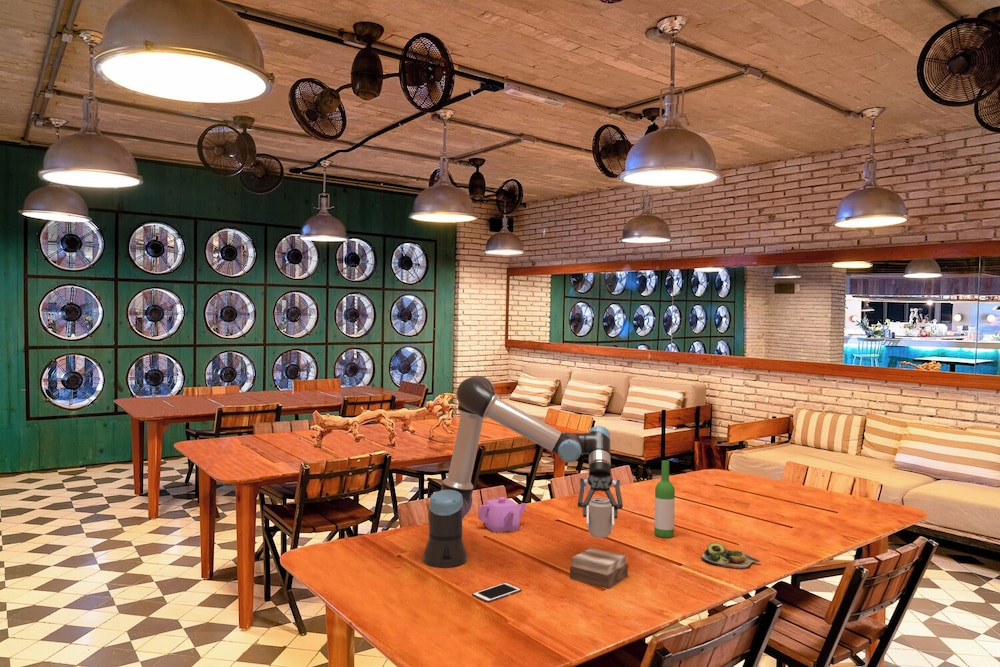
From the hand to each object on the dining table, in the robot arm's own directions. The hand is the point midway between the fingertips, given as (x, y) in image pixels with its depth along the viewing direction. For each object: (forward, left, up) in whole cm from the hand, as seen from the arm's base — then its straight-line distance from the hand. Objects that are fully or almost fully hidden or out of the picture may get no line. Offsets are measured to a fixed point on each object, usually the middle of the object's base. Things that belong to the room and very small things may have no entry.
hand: (600, 525), depth 221 cm
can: (+3, +2, -4) cm, 6 cm away
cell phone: (-29, +20, -19) cm, 40 cm away
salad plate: (+48, -25, -19) cm, 57 cm away
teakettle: (+28, +60, -18) cm, 68 cm away
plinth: (+3, +2, -18) cm, 18 cm away
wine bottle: (+61, +4, -18) cm, 64 cm away
